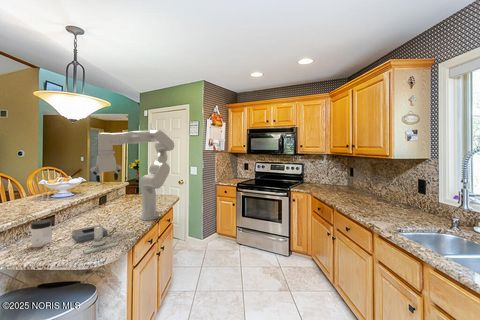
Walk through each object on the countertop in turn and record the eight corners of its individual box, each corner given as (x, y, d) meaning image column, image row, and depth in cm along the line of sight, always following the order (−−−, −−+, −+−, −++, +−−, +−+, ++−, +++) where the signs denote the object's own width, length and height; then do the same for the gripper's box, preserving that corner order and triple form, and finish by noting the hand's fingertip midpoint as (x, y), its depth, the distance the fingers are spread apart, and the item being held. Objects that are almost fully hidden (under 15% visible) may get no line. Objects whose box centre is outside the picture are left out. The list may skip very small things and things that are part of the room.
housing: (100, 231, 140) (100, 224, 140) (107, 237, 130) (107, 230, 130) (72, 237, 130) (72, 230, 130) (77, 244, 120) (77, 237, 120)
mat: (109, 239, 127) (109, 237, 127) (117, 245, 119) (117, 244, 119) (79, 246, 117) (79, 245, 117) (85, 254, 109) (85, 252, 109)
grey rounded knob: (103, 241, 122) (103, 224, 122) (106, 244, 118) (105, 227, 118) (91, 244, 118) (90, 226, 118) (93, 247, 114) (93, 229, 114)
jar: (26, 248, 116) (25, 224, 115) (37, 242, 124) (36, 220, 123) (47, 246, 118) (46, 223, 117) (56, 240, 126) (55, 218, 125)
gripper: (118, 152, 149) (120, 178, 150) (87, 153, 137) (89, 182, 138) (123, 152, 144) (124, 179, 145) (91, 153, 132) (93, 183, 133)
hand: (107, 180), depth 142 cm, fingers open, 9 cm apart
